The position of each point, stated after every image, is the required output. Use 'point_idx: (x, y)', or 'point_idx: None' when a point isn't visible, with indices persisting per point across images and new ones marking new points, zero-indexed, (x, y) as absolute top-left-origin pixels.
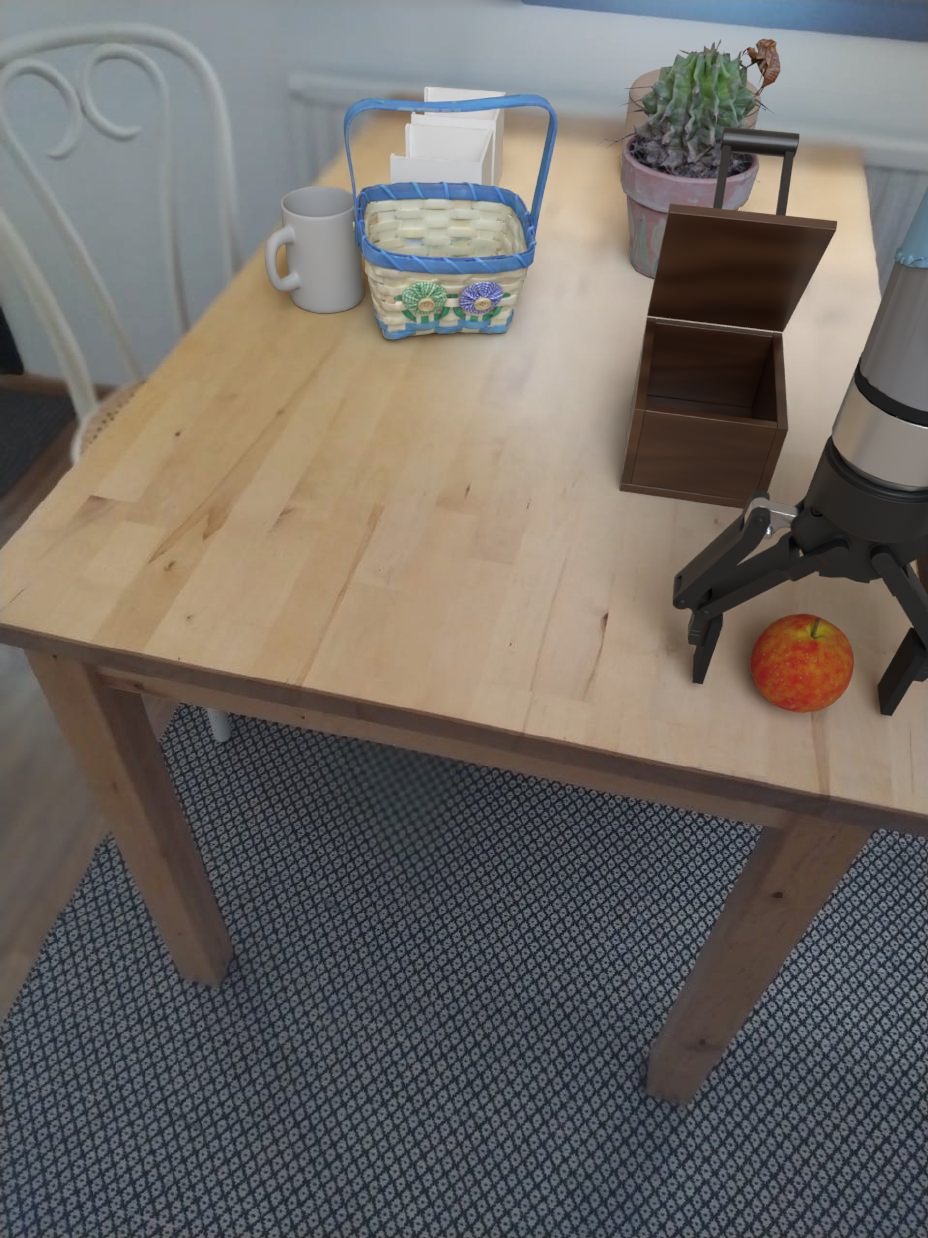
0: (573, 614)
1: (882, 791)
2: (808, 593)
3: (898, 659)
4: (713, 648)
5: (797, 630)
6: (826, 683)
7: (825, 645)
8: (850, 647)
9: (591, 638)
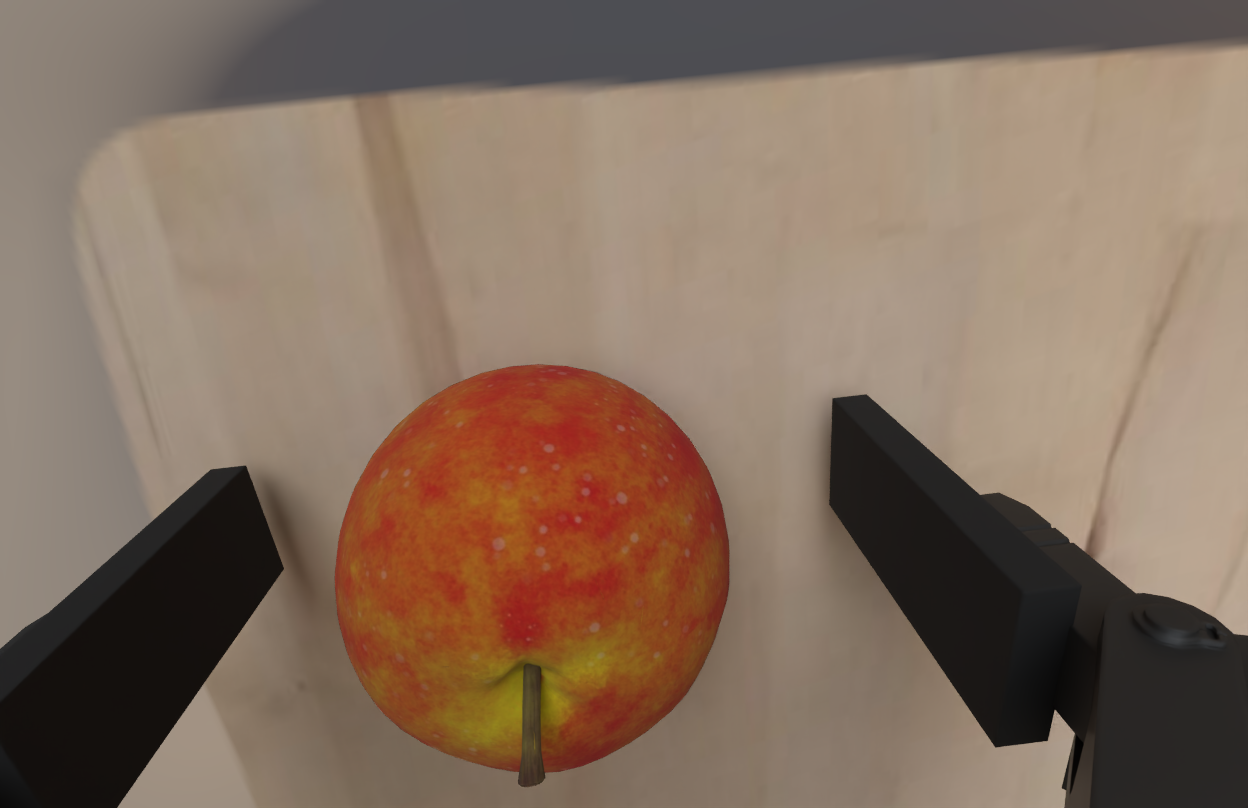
0: (1180, 542)
1: (176, 165)
2: (533, 795)
3: (164, 675)
4: (928, 491)
5: (610, 681)
6: (428, 459)
7: (465, 641)
8: (356, 669)
9: (1138, 476)
